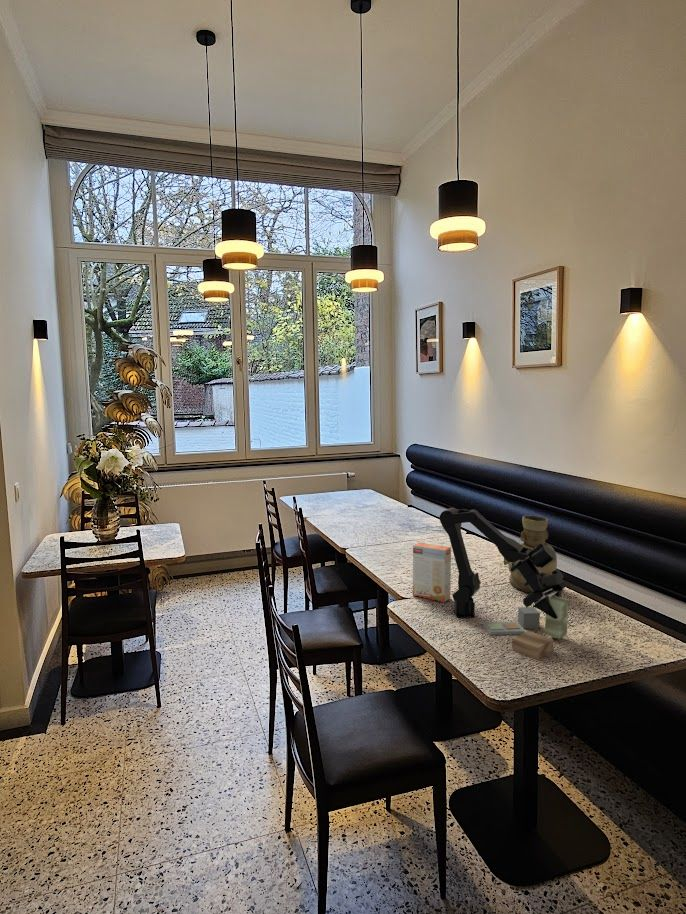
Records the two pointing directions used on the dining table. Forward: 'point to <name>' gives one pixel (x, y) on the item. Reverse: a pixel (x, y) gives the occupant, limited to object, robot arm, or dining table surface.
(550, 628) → the sage pillar
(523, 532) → the ceramic vessel
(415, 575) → the cracker box
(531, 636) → the walnut base block
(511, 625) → the board
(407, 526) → the dining table surface
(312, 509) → the dining table surface
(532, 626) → the charcoal cube
